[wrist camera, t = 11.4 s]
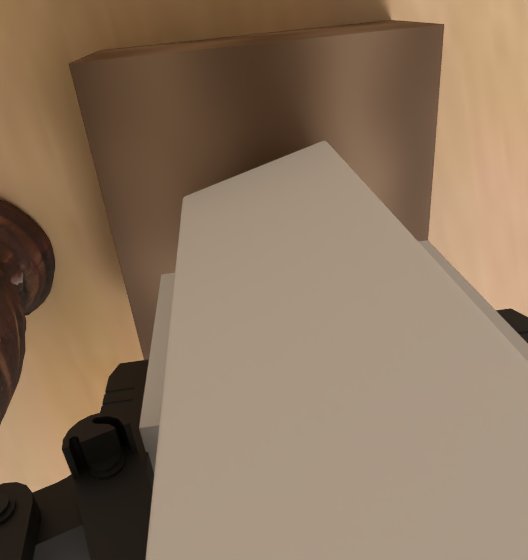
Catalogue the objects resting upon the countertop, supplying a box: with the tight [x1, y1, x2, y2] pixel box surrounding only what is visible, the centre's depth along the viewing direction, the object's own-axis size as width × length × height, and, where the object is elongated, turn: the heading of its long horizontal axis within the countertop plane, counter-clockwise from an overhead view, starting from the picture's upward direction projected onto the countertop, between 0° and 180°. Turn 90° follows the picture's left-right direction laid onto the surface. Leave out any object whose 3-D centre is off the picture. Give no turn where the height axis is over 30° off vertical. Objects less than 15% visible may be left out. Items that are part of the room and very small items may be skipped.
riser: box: [69, 20, 444, 360], centre depth 25 cm, size 14×14×6 cm
